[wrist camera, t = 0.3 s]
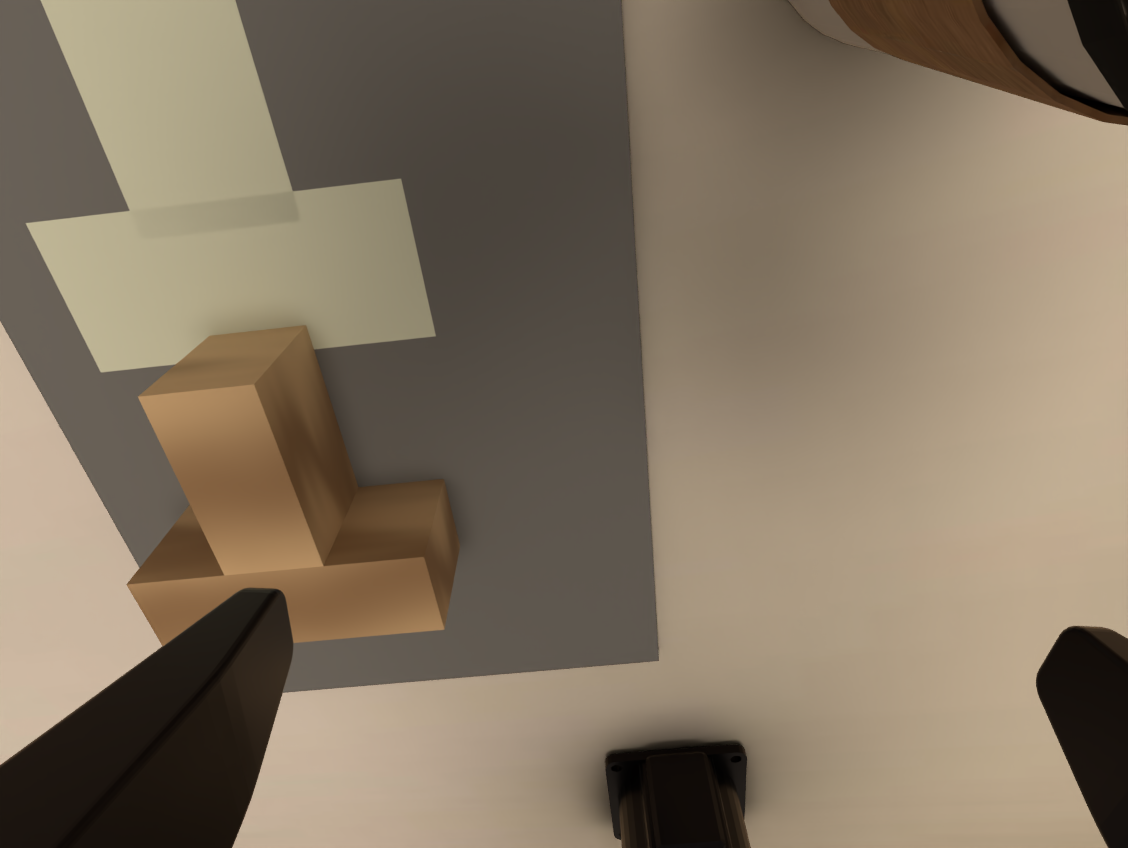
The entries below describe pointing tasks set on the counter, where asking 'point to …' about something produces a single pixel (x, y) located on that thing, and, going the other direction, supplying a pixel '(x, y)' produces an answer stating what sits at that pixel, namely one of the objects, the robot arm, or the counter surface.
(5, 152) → the mat
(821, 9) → the coffee cup
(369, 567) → the t block
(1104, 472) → the counter surface
